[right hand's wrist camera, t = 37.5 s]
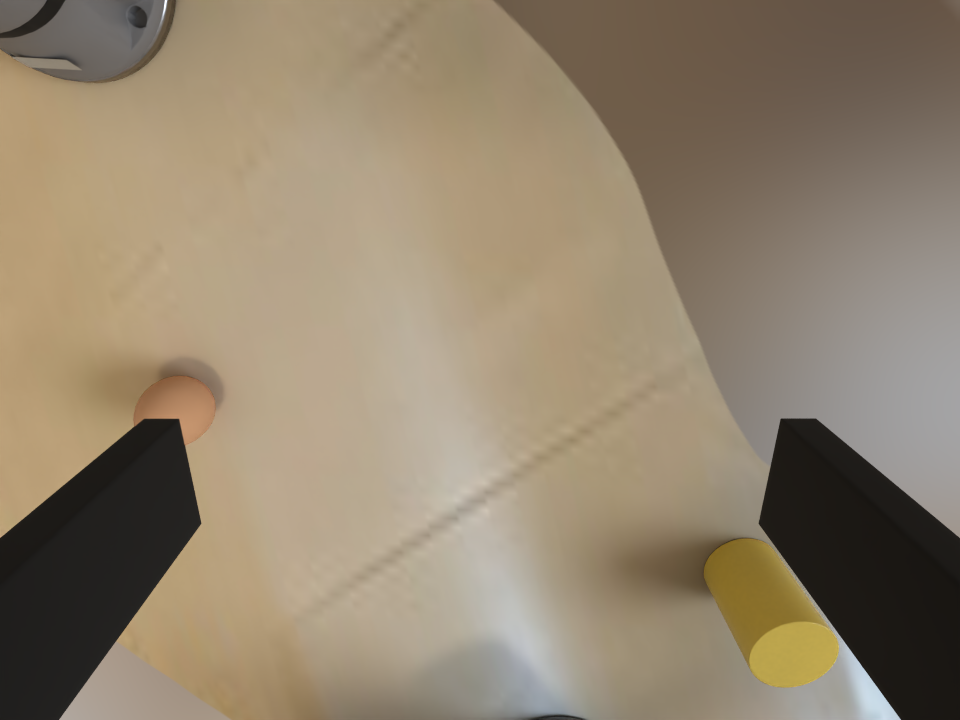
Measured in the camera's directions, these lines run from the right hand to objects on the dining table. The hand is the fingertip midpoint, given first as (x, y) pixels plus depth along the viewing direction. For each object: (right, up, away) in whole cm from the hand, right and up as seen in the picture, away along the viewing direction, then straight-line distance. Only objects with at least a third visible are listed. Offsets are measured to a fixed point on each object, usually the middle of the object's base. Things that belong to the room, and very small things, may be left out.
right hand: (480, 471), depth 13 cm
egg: (-27, -1, +41) cm, 49 cm away
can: (+28, -20, +49) cm, 60 cm away
